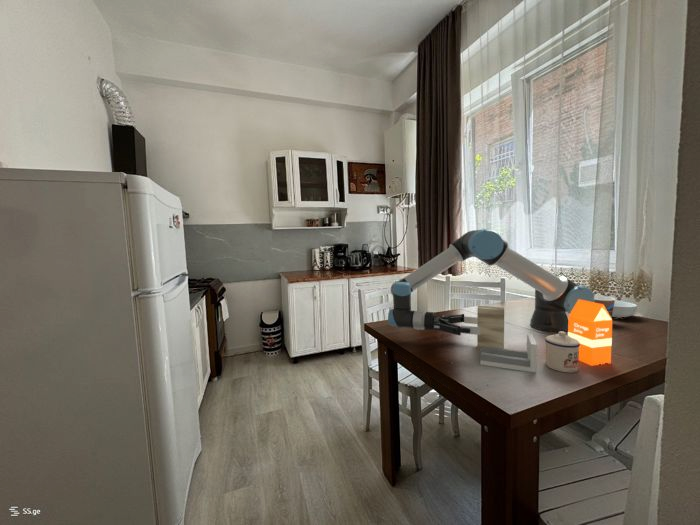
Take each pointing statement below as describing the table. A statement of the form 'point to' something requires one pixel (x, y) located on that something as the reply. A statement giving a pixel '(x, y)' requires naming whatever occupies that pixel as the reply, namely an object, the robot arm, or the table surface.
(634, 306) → the cereal bowl
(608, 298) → the coffee cup
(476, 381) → the table surface
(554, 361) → the teacup with lid
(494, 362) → the track
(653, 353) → the table surface
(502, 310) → the tall wooden block
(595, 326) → the orange juice
